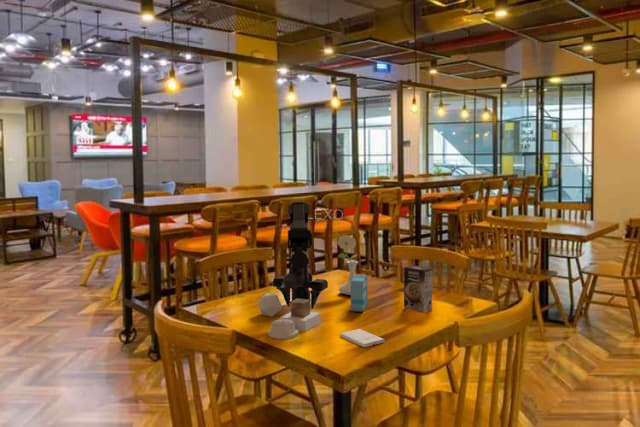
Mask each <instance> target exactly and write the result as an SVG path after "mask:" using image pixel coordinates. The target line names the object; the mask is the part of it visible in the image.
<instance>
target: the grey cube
mask: <svg viewBox="0 0 640 427" xmlns="http://www.w3.org/2000/svg"><path fill="white" fill-rule="evenodd" d="M291 301H292V300H291ZM290 312H291V316H293V317H302V318H305V317H306V316H308V315H309V314H310V312H311V301H310V300H307V299H295V300H293V301H292V302H291V303H290Z"/></svg>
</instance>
